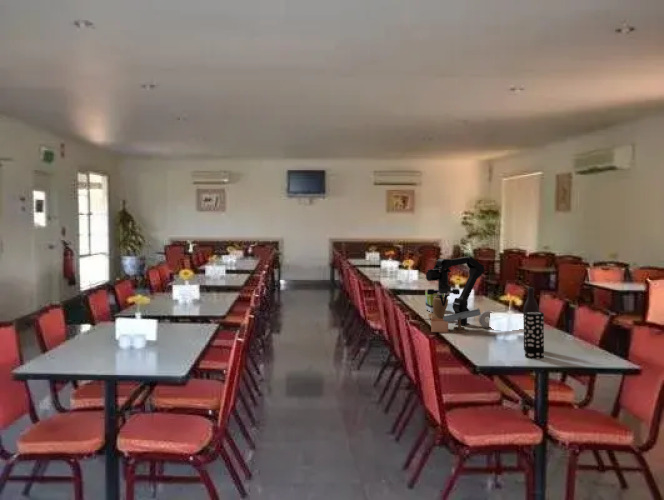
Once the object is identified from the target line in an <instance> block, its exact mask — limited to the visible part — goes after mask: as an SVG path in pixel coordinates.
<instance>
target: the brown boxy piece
mask: <svg viewBox="0 0 664 500" xmlns="http://www.w3.org/2000/svg"><path fill="white" fill-rule="evenodd" d="M430 329H431V330H430V332H431V333H449V322H448V321H444V320H443V319H432V315H431V319H430Z"/></svg>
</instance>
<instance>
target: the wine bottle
mask: <svg viewBox="0 0 664 500" xmlns="http://www.w3.org/2000/svg"><path fill="white" fill-rule="evenodd" d="M527 292H528V293H527V298H526V301H525V303H524V305H523V311H522V312H523V314H522V315H523V316H522V317H523V350H524V351H525V314H524V313H526V312H540V311H539V308H540V307H539V305H538V303H537V301H536V298H535V295H534V294H535V293H534V292H535V288H534V287H528V288H527Z"/></svg>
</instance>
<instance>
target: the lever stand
mask: <svg viewBox="0 0 664 500" xmlns="http://www.w3.org/2000/svg"><path fill="white" fill-rule="evenodd" d="M457 323H458V325H457V326H453V330H454V331H453V332H454V333H455V334H458V333H459V334H464V333H466V330H465V326H462V325H461V318H459V320H457Z"/></svg>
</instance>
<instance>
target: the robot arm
mask: <svg viewBox="0 0 664 500" xmlns="http://www.w3.org/2000/svg"><path fill="white" fill-rule="evenodd" d="M465 264H466V267H467V268H469V272H468V273H469V276H468V278H467V280H466V283H465V284H464V287H463V288H462V291H461V293H460V289H459V288H452V285H451V284H449V273H451V272H452V270H450V269H449V268H452V267H454V266H458V265H460V266H461V265H465ZM484 272H485V266H484V265H483V264H482V263H480V262H479V261H477V260H475V258H473V256H465V257H464V256H463V257H456V258H450V259H449V258H439V259H437V261H436V263H435V265H434V267H433V269H431V268H428V269H427V272H426V274H425V278H426V280H427V282H431V281H433V282H434V281H437V284H438V285H437V286H438V287H437V289H438V290H434V289H435V288H428V289H426V290H427V294H428V295H433V294H434V293H437V296H439V297H440V299H441V302H442V305H443V306H445V302H446V299H448V298H449V297H450V295H451V294H453V295H459V297H458V298H457V297H455V298H454V300H453V303H452V306H451V307H452V309H453V311H454V314H457V313H461V312H466V311H471V310H470V309H469V308H468V303H469V302H468V300H469V298H470V295H471V293H472V291H473V288H474V287H475V284H476V282H477V280H478V279H479V278H480V277H481V276H482V275H483V273H484ZM442 293H444V303H443V297H442ZM455 325H457V326H458V322H457V323H456V322H455ZM468 325H470V322H468V318H464V319H461V326H468Z"/></svg>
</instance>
